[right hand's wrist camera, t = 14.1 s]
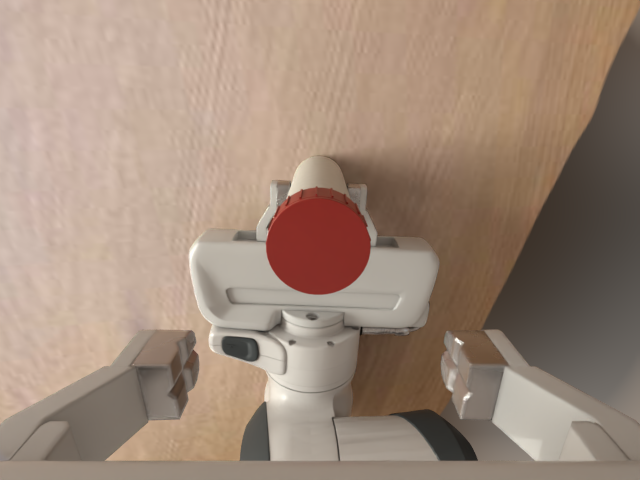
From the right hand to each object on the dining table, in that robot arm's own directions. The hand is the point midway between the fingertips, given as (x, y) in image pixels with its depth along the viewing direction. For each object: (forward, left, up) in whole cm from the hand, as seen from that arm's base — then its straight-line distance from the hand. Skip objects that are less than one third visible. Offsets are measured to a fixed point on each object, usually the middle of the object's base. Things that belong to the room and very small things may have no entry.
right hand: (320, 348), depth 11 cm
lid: (0, 0, -8) cm, 8 cm away
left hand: (-1, 0, -18) cm, 18 cm away
